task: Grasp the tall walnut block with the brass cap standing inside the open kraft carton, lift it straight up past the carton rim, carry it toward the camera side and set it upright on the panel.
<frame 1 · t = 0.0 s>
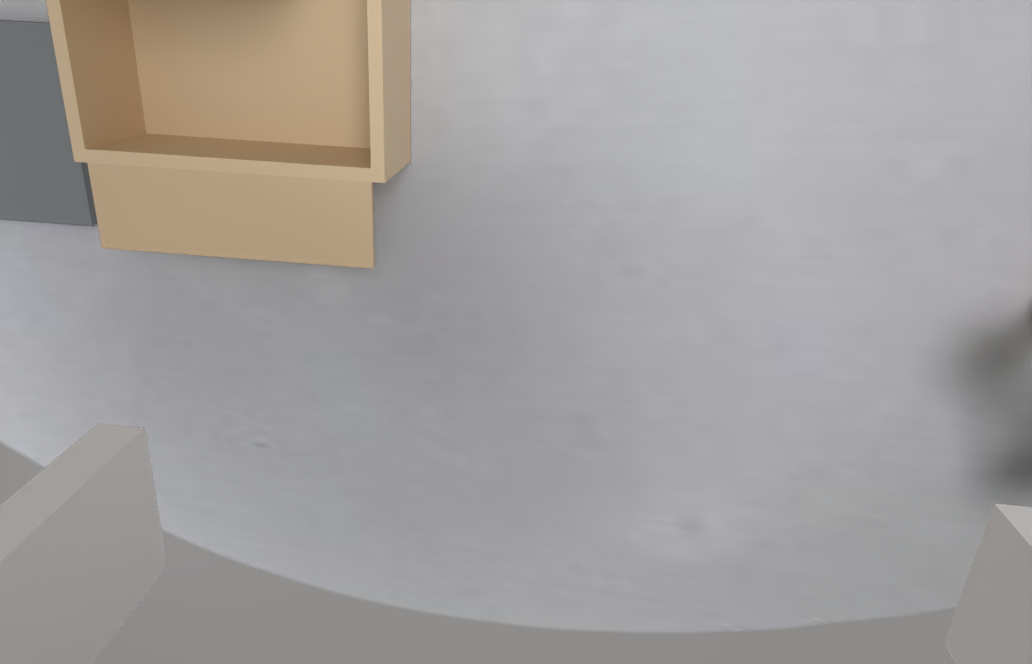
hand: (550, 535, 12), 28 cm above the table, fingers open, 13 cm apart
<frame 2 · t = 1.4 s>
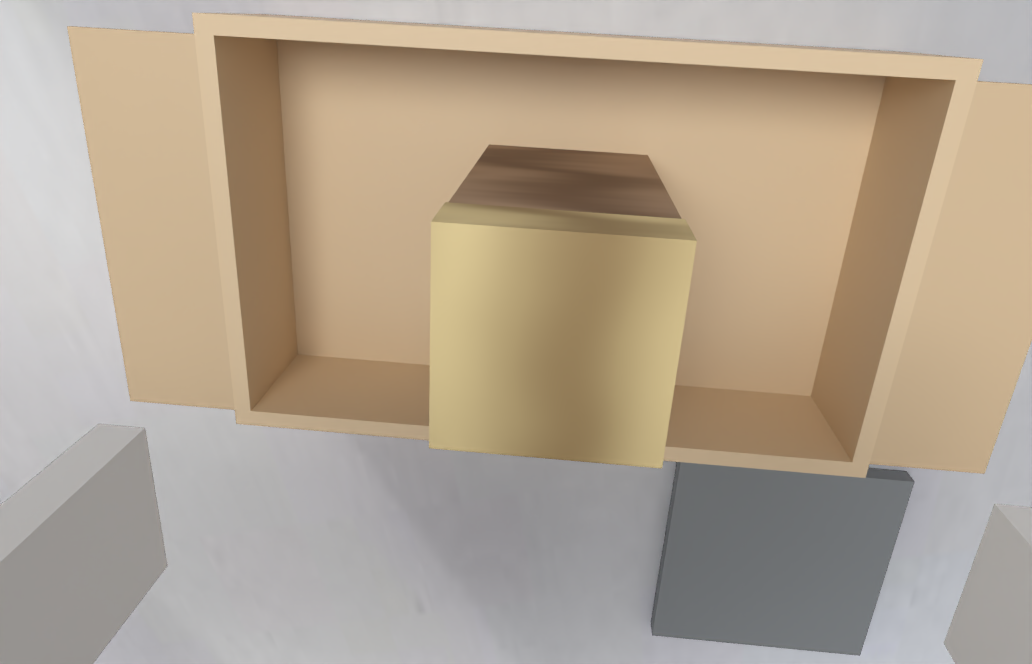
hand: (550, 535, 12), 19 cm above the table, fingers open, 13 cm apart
carton: (562, 224, 30), on the table
block: (561, 226, 29), resting on carton
panel: (770, 552, 35), on the table
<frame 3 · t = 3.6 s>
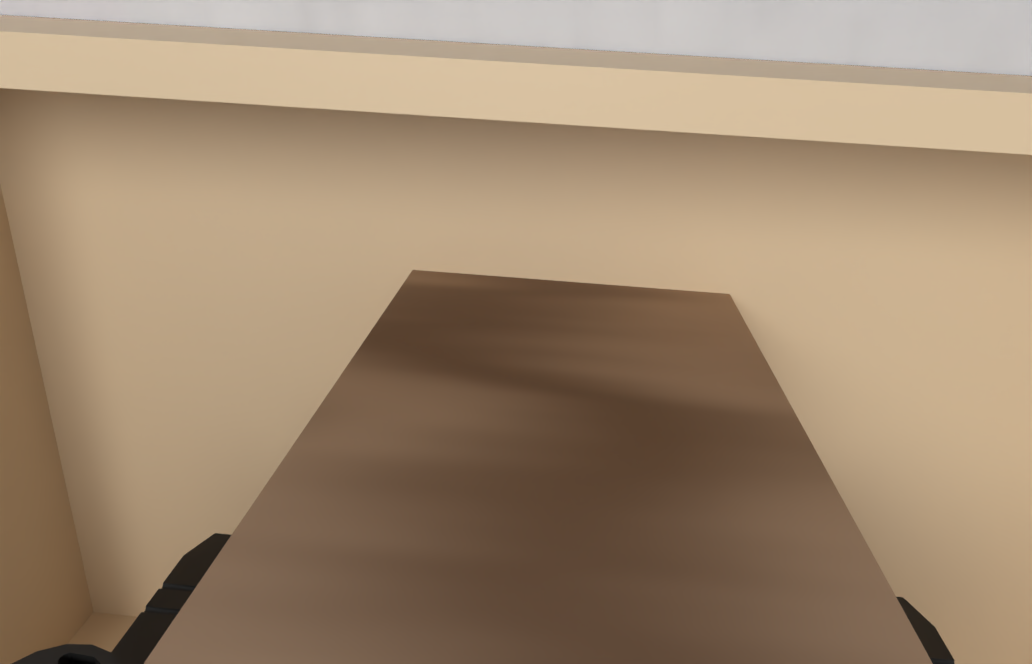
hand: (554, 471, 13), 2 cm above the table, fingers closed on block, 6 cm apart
carton: (558, 411, 16), on the table
block: (557, 420, 15), resting on carton, touching gripper
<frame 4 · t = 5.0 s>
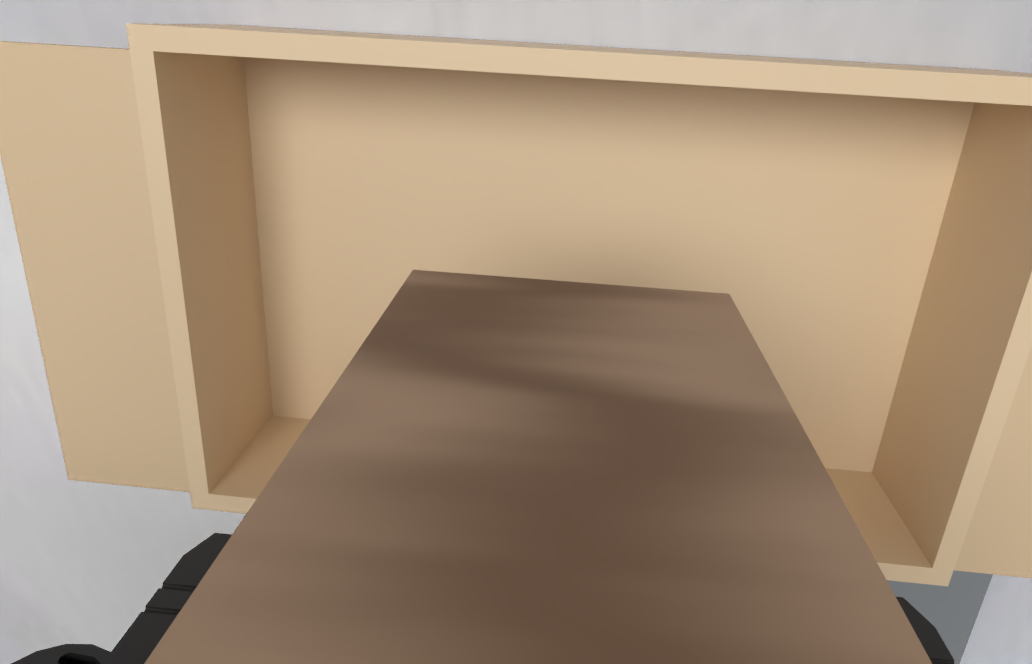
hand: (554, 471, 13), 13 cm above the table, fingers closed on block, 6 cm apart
carton: (579, 271, 25), on the table
block: (557, 419, 15), point 11 cm above the table, touching gripper
panel: (818, 644, 30), on the table
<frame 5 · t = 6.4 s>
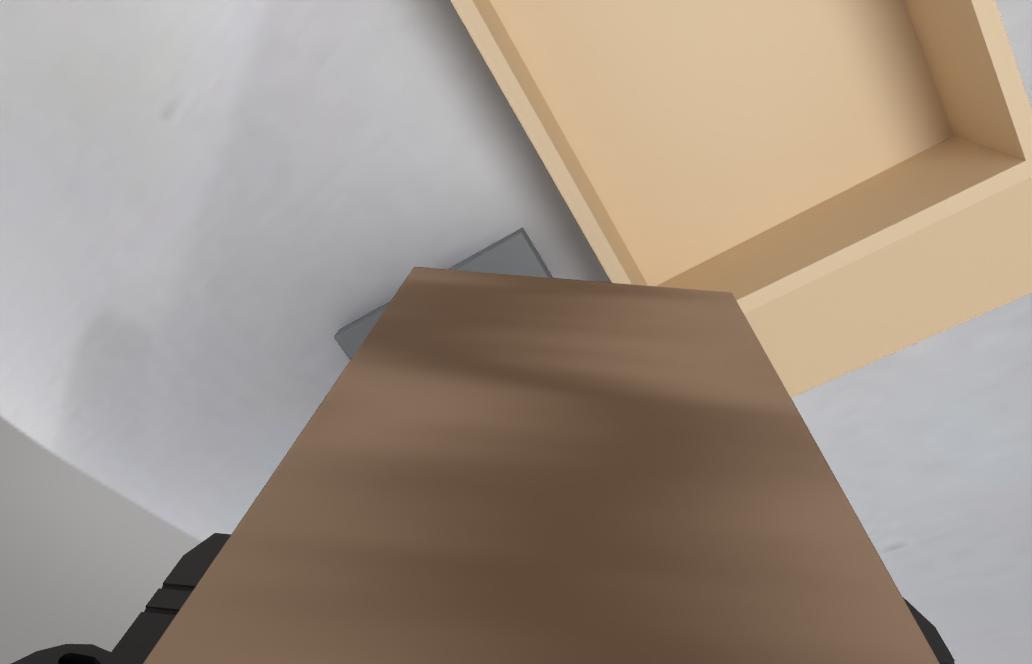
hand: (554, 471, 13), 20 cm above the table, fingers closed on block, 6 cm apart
block: (558, 418, 15), point 18 cm above the table, touching gripper
panel: (485, 368, 35), on the table
when the fingers open (4 cm above the table, at t = 9.0 s): block drops 1 cm, resting on panel.
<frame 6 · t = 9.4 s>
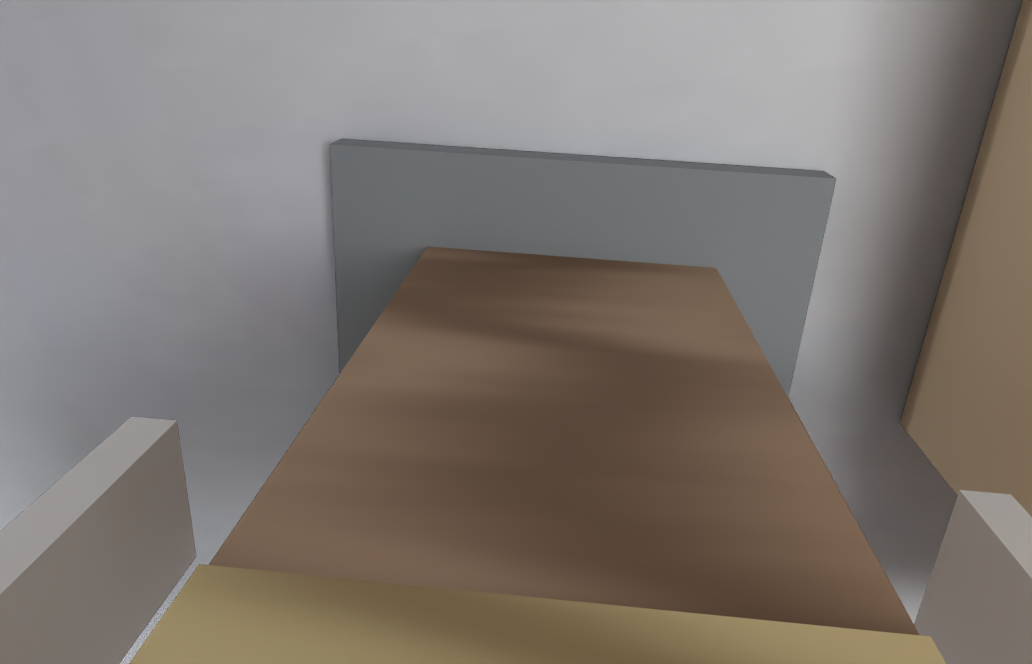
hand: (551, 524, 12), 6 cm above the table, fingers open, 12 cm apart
block: (559, 385, 17), point 1 cm above the table, touching panel
panel: (560, 371, 17), on the table
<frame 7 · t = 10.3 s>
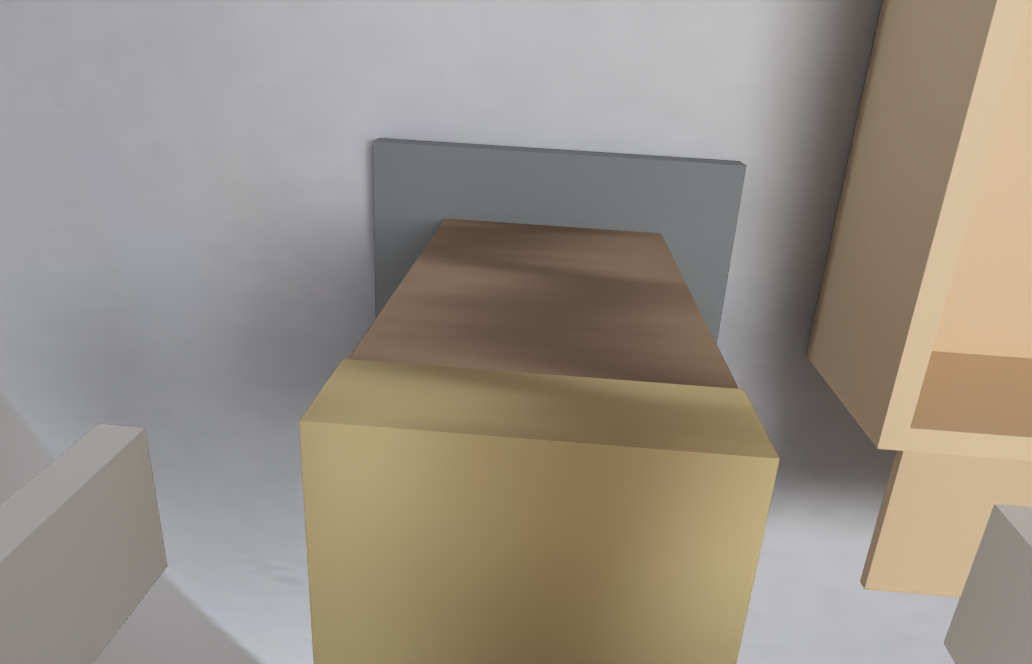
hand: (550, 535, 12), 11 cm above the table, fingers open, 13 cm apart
block: (545, 326, 22), point 1 cm above the table, touching panel
panel: (545, 318, 22), on the table
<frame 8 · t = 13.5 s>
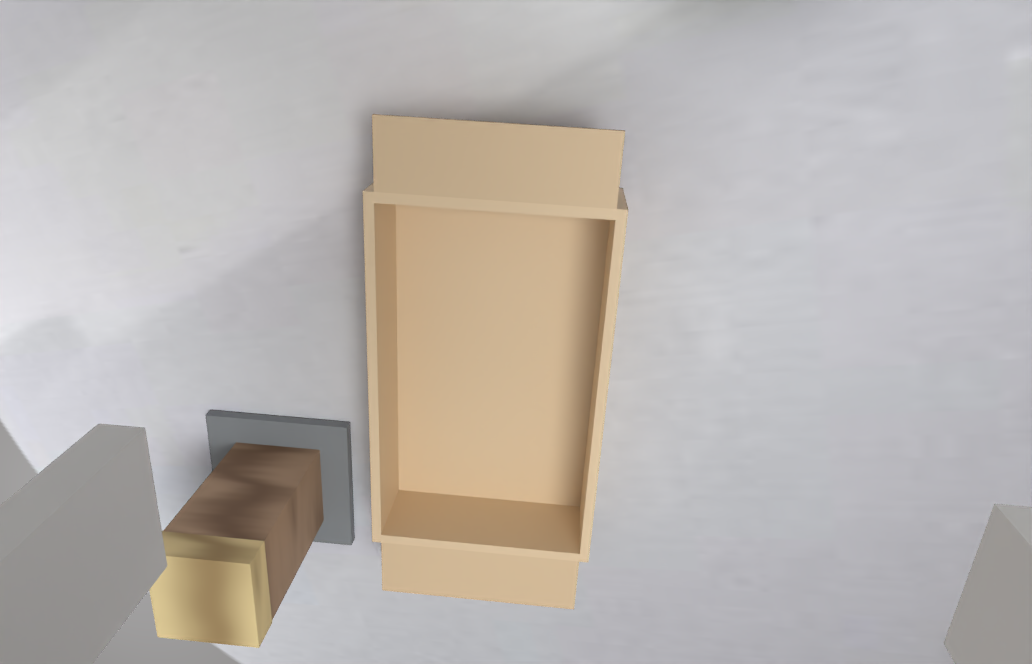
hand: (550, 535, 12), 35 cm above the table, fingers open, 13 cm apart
carton: (495, 355, 49), on the table
block: (280, 481, 53), point 1 cm above the table, touching panel
panel: (284, 476, 54), on the table
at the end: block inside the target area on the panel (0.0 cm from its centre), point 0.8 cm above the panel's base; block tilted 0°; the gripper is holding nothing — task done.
